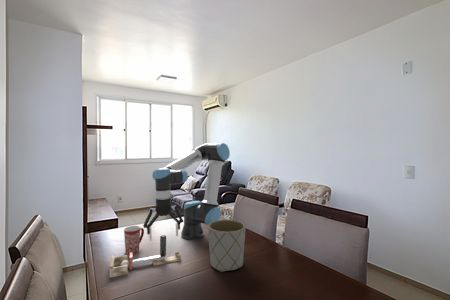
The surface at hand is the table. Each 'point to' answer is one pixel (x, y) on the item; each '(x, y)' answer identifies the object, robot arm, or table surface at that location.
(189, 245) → the table surface
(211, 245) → the planter
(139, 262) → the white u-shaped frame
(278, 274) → the table surface
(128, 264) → the ball
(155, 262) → the strip
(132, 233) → the mug
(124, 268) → the beige block
